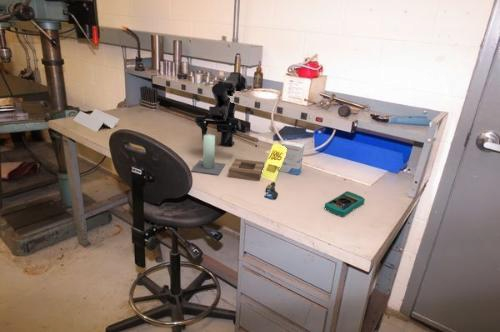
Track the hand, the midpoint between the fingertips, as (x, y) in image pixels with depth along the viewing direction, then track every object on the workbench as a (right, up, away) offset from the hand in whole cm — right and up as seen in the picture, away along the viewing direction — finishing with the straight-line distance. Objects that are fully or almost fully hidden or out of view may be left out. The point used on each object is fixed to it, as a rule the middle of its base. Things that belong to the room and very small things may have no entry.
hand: (213, 141), depth 141 cm
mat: (-2, -11, -4) cm, 12 cm away
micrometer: (+23, -20, -18) cm, 35 cm away
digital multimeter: (+47, -24, -25) cm, 58 cm away
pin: (-2, -11, -4) cm, 11 cm away
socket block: (+14, -13, -5) cm, 19 cm away
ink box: (+31, -12, -1) cm, 33 cm away
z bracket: (-66, +12, +40) cm, 78 cm away
